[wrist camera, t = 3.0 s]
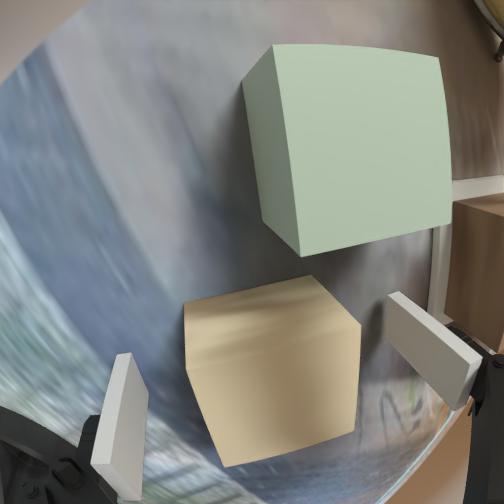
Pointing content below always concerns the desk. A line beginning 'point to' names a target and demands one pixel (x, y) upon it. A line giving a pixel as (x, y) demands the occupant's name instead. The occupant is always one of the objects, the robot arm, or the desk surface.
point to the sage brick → (348, 144)
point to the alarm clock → (493, 20)
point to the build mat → (444, 238)
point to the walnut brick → (478, 268)
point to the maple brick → (273, 368)
